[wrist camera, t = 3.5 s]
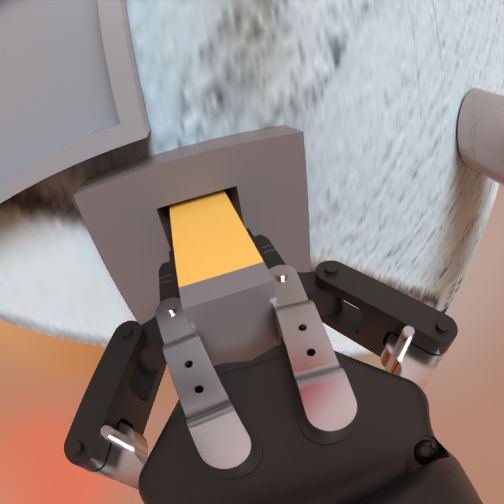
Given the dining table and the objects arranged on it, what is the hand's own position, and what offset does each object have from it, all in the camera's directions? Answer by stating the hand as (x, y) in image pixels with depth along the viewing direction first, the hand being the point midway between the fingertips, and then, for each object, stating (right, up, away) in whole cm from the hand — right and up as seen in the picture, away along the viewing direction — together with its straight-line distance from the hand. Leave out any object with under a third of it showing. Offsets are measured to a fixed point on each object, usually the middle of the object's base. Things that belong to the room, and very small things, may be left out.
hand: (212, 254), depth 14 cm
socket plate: (-1, +2, +3) cm, 4 cm away
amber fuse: (-1, +2, +3) cm, 4 cm away
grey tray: (-12, +11, -7) cm, 17 cm away
